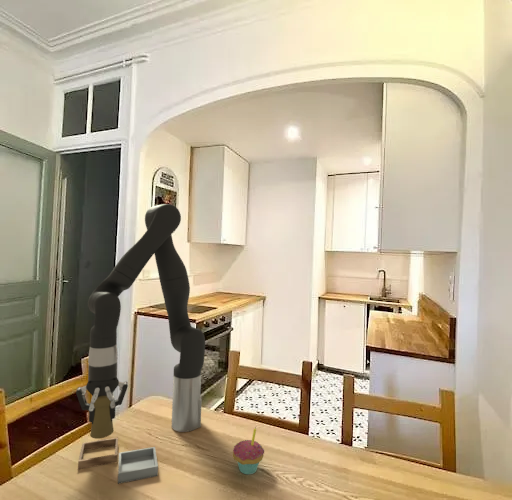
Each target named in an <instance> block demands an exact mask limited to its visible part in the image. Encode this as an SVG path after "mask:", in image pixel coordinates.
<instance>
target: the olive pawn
mask: <svg viewBox="0 0 512 500" xmlns="http://www.w3.org/2000/svg"><path fill="white" fill-rule="evenodd" d="M110 404H111V401H110V400H109V398H108V397H107V396H99V397H97V400H96V401H95V403H94V410H95V414H94V421H93V424H92V423H91V428H90V437H91V438H92V439H98V440H99V439H105V438H106V437H109V436H111V435H112V434H114V430H115V429H114V424H113V420H112V421H111V418H110V407H111V406H110Z"/></svg>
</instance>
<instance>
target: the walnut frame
mask: <svg viewBox="0 0 512 500" xmlns="http://www.w3.org/2000/svg"><path fill="white" fill-rule="evenodd" d="M118 446H119V437H113V438H112V437H111V438H103V439H100V440H99V439H98V440H93V441H92V440H91V441H85V442H82V444H81V448H80V452H79V457H78V463H77V470H81V469H82V470H83V469H87V468H92V467H98V466H105V465H109V464H110V465H111V464H115V463H118V449H119V448H118ZM107 447H114V448H115V450H114V454H109V455H103V456H96V457H95V456H94V457H90V458H84V454H85V451H89V450H95V449H96V450H97V449H103V448H107Z"/></svg>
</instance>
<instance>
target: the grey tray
mask: <svg viewBox="0 0 512 500" xmlns="http://www.w3.org/2000/svg"><path fill="white" fill-rule="evenodd" d="M117 470H118V471H117V484H119V483H120V484H122V483H124V482H125V483H128V482H134V481H139V480H145V479H149V478H154V477H158V475H159V473H158V472H159V464H158V458H157V451H156V446H153V447H145V448H140V449H139V448H138V449H133V450H128V451H121V452H118V469H117ZM120 484H119V485H120Z"/></svg>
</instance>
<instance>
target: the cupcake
mask: <svg viewBox="0 0 512 500" xmlns="http://www.w3.org/2000/svg"><path fill="white" fill-rule="evenodd" d="M256 433H257V426H255V428H253V433H252V437H251V439H246V440H241V441H239V442H237V443H236V444H235V445H234V446H233V449H232V458H233V460H235V462H236V463H237V465H238V470H239V472H240V473H242V474H244V475H253V474H254V473H256V472H257V470H258V467H259V464H260V462H262V461H263V459H264V454H265V449H264V448H263V447H262V445H261V444H260V443H259V442H258V441H256V440H255V438H256Z"/></svg>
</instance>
